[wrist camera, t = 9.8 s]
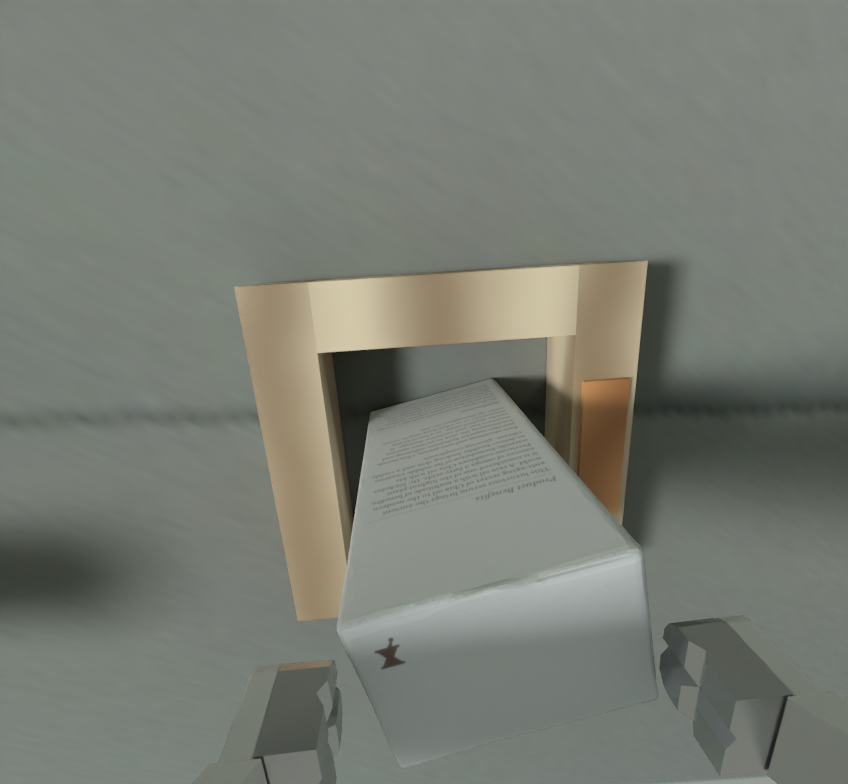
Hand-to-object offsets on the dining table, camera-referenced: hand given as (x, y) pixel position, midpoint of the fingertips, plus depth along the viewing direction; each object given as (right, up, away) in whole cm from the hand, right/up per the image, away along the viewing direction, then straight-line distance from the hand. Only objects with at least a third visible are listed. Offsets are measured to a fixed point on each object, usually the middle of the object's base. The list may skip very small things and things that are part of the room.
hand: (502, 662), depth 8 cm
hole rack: (-1, +4, +11) cm, 12 cm away
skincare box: (-1, +4, +11) cm, 12 cm away
